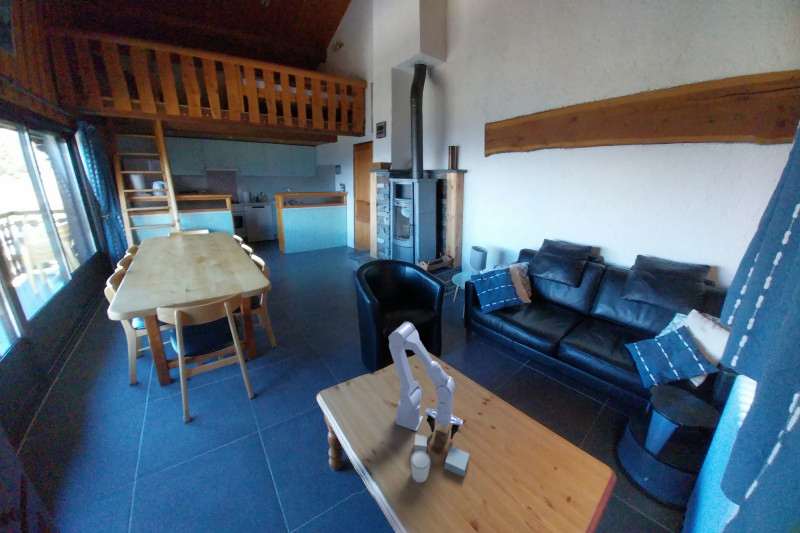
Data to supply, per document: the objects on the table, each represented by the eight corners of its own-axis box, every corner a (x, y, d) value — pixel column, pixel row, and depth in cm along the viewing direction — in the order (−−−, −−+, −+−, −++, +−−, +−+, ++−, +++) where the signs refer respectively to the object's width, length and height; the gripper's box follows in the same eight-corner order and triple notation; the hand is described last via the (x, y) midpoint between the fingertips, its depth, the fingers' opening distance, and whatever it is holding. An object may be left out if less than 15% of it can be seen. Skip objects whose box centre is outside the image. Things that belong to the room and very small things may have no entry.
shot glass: (424, 488, 101) (424, 473, 98) (406, 477, 104) (406, 462, 102) (433, 471, 106) (434, 456, 104) (416, 461, 110) (416, 447, 107)
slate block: (444, 468, 108) (445, 461, 106) (450, 452, 113) (451, 445, 112) (463, 477, 105) (464, 470, 103) (468, 460, 111) (469, 453, 109)
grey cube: (413, 454, 112) (414, 444, 111) (415, 444, 116) (415, 434, 115) (425, 456, 112) (426, 446, 110) (426, 445, 116) (427, 435, 114)
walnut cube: (435, 439, 119) (435, 429, 117) (438, 430, 123) (438, 421, 121) (446, 443, 117) (446, 433, 115) (449, 434, 121) (449, 424, 119)
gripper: (423, 408, 114) (421, 435, 118) (461, 421, 109) (458, 448, 113) (428, 395, 120) (427, 422, 125) (465, 407, 115) (462, 434, 119)
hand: (442, 434), depth 119 cm, fingers open, 7 cm apart
